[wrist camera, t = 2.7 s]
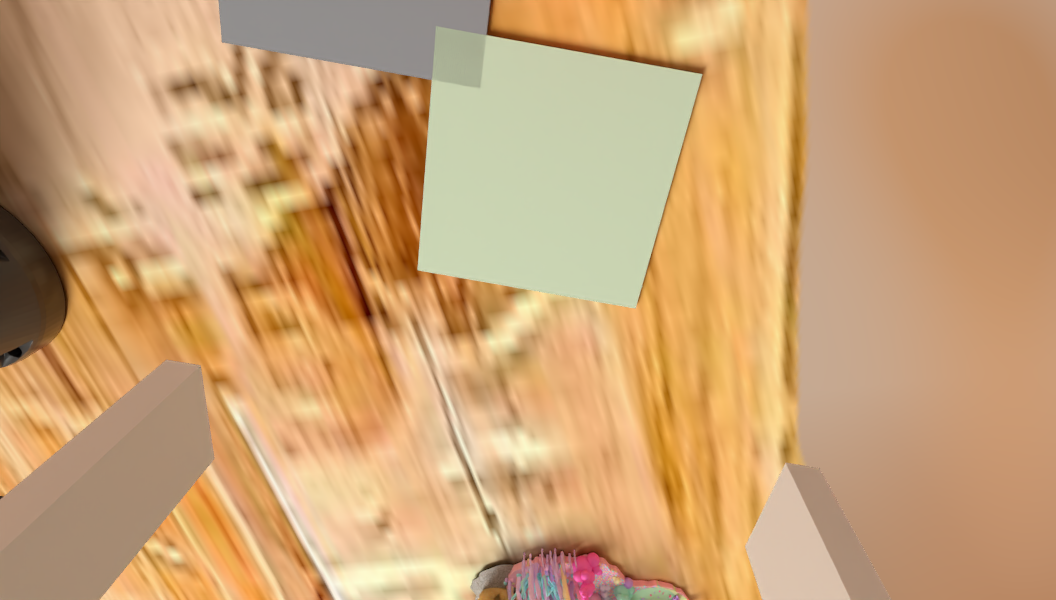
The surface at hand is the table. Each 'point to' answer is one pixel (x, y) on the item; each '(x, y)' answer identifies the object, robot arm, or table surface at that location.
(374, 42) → the pad grey
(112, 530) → the robot arm
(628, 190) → the pad green
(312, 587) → the table surface
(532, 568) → the pastel sphere sculpture
